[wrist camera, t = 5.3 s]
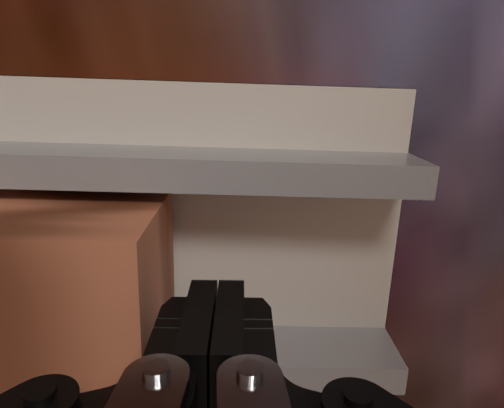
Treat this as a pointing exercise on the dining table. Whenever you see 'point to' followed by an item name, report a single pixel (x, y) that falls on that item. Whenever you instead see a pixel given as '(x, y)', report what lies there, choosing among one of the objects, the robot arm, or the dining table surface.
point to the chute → (247, 194)
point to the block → (81, 282)
